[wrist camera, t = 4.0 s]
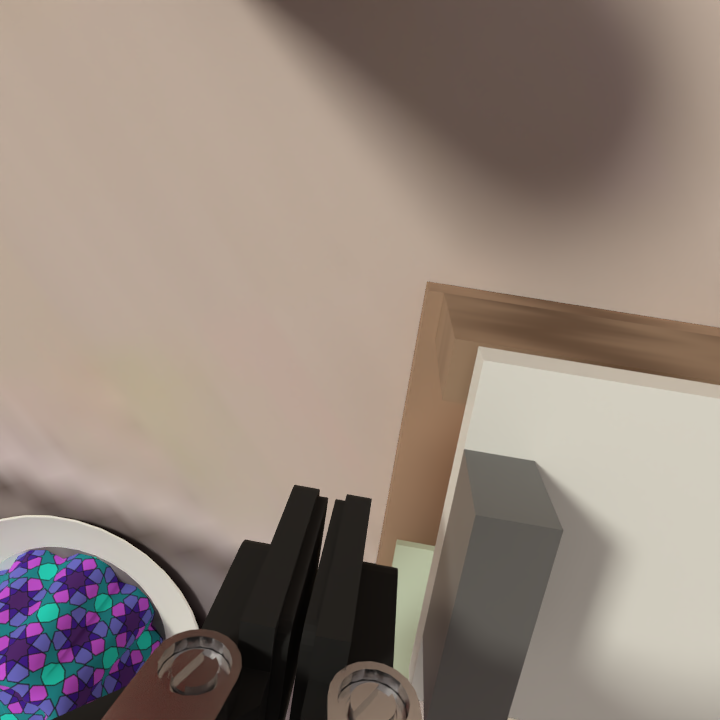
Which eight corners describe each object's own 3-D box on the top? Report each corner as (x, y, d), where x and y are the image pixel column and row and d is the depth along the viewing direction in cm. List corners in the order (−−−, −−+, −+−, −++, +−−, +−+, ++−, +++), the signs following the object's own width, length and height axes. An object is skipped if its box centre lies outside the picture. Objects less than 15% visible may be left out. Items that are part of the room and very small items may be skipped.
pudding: (143, 476, 23) (68, 559, 18) (248, 706, 26) (209, 830, 21) (-104, 537, 25) (-232, 627, 20) (21, 743, 28) (-63, 865, 23)
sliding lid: (855, 407, 12) (1019, 494, 9) (713, 723, 15) (797, 878, 12) (478, 346, 13) (500, 408, 9) (408, 666, 15) (406, 801, 12)
